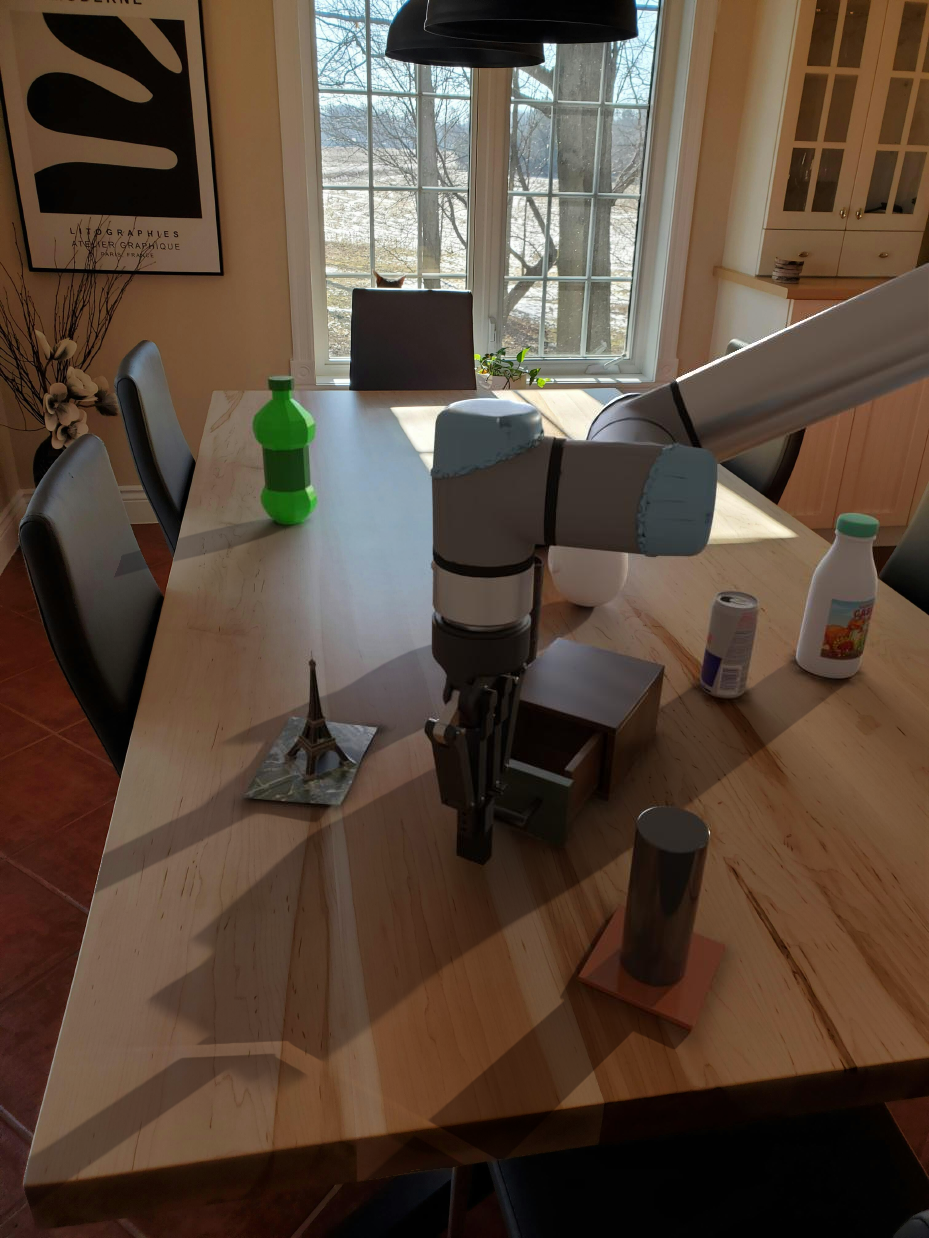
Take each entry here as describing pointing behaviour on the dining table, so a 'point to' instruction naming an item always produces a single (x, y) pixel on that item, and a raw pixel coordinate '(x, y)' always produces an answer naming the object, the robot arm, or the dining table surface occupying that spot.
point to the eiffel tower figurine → (311, 757)
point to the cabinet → (598, 699)
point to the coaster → (663, 1001)
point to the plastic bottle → (285, 454)
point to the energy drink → (729, 644)
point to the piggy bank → (587, 574)
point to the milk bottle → (840, 601)
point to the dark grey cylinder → (663, 894)
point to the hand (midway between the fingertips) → (473, 855)
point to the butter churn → (535, 608)
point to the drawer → (549, 775)
